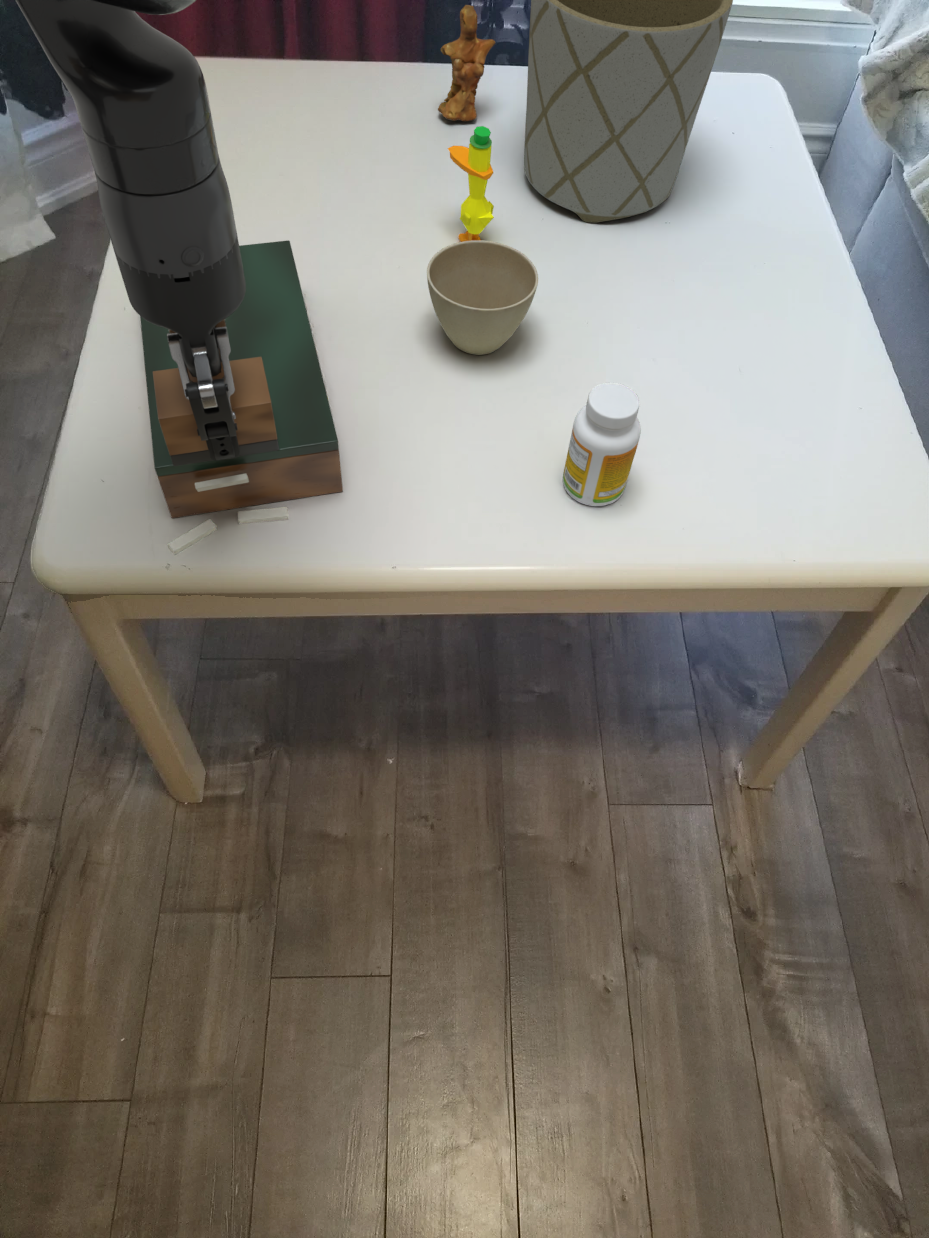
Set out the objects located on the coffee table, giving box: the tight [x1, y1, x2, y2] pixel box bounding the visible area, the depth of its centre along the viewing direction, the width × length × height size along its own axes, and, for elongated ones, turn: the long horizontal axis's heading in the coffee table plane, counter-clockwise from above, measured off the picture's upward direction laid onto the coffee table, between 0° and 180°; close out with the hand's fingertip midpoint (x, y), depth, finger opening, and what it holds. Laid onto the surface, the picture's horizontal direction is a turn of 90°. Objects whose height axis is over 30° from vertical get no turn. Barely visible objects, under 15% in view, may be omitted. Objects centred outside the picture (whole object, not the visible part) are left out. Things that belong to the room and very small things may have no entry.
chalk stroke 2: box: [195, 473, 249, 492], centre depth 71 cm, size 4×1×1 cm
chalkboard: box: [139, 239, 344, 519], centre depth 79 cm, size 14×26×6 cm, turn 14°
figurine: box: [437, 4, 496, 122], centre depth 104 cm, size 5×6×12 cm
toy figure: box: [447, 125, 495, 242], centre depth 91 cm, size 7×4×12 cm, turn 42°
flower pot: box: [426, 239, 539, 356], centre depth 85 cm, size 10×10×7 cm
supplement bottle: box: [562, 382, 642, 507], centre depth 74 cm, size 5×5×10 cm
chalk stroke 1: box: [166, 518, 218, 555], centre depth 73 cm, size 4×1×1 cm, turn 133°
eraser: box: [153, 357, 279, 466], centre depth 69 cm, size 8×5×5 cm, turn 105°
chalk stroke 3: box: [237, 506, 289, 525], centre depth 74 cm, size 4×1×1 cm, turn 99°
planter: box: [523, 0, 734, 224], centre depth 95 cm, size 19×19×20 cm
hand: (221, 428), depth 70 cm, fingers closed on eraser, 5 cm apart
